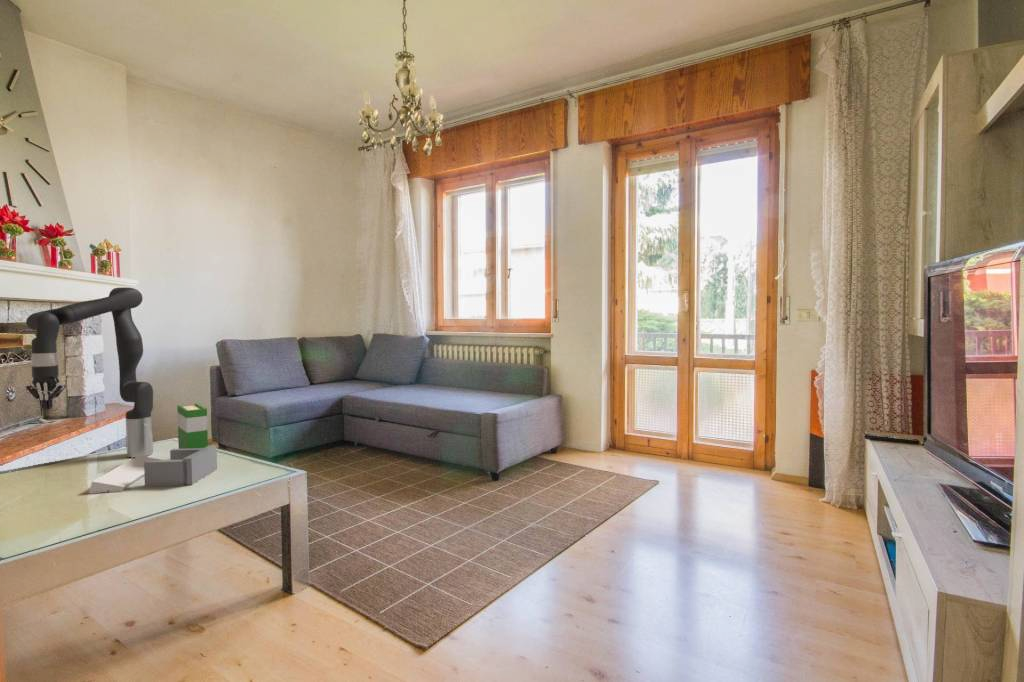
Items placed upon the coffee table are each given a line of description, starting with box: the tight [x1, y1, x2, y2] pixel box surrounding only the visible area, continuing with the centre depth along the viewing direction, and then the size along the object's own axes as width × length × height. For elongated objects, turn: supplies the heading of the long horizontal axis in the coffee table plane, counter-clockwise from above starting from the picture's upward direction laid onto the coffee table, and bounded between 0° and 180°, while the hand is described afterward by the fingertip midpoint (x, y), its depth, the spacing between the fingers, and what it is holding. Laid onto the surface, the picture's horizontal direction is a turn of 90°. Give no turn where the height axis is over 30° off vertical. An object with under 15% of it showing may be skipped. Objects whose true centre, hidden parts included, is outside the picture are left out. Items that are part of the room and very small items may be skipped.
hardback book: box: [176, 403, 209, 449], centre depth 215 cm, size 18×7×24 cm, turn 43°
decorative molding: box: [88, 455, 161, 495], centre depth 195 cm, size 34×5×10 cm
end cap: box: [144, 444, 218, 487], centre depth 195 cm, size 19×16×10 cm
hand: (47, 409), depth 194 cm, fingers closed
